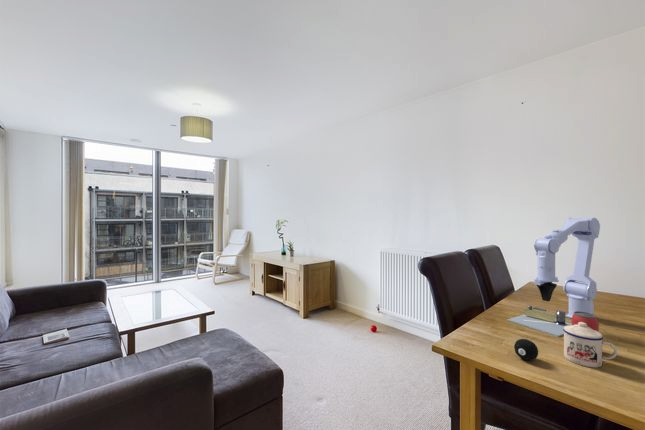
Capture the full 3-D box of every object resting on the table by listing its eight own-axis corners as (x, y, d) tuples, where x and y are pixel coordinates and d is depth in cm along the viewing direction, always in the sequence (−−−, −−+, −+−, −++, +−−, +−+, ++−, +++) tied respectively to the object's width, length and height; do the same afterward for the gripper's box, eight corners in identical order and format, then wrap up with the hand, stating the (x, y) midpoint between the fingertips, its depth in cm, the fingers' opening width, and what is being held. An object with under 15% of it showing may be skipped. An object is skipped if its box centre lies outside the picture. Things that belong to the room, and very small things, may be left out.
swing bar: (555, 320, 117) (555, 310, 117) (553, 322, 116) (553, 312, 116) (526, 314, 125) (526, 304, 125) (525, 315, 123) (525, 305, 123)
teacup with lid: (562, 360, 86) (562, 323, 86) (563, 350, 93) (563, 315, 93) (618, 376, 78) (618, 334, 78) (616, 363, 85) (616, 325, 85)
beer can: (604, 356, 90) (604, 318, 90) (580, 353, 91) (580, 316, 91) (589, 346, 96) (589, 311, 96) (566, 344, 97) (567, 310, 97)
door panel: (530, 313, 128) (530, 312, 128) (581, 327, 112) (581, 326, 112) (507, 320, 119) (507, 319, 119) (558, 336, 103) (558, 335, 103)
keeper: (535, 313, 126) (535, 307, 126) (546, 316, 123) (546, 309, 123) (532, 314, 125) (533, 307, 125) (543, 317, 122) (543, 310, 122)
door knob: (557, 321, 117) (557, 309, 117) (568, 324, 114) (568, 312, 114) (553, 323, 115) (553, 311, 116) (564, 326, 112) (564, 313, 112)
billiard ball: (541, 360, 87) (541, 341, 87) (533, 366, 83) (533, 346, 83) (519, 352, 92) (519, 334, 92) (510, 357, 88) (510, 338, 88)
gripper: (549, 270, 108) (548, 306, 108) (566, 267, 115) (566, 300, 115) (528, 267, 114) (528, 301, 114) (546, 265, 121) (546, 296, 121)
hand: (546, 300), depth 115 cm, fingers closed
